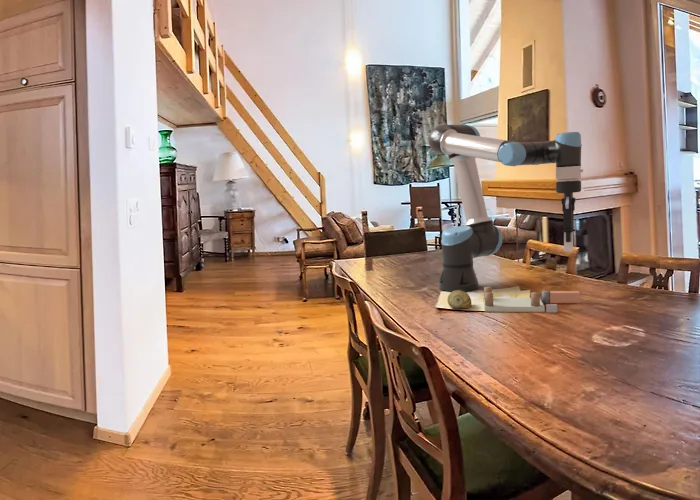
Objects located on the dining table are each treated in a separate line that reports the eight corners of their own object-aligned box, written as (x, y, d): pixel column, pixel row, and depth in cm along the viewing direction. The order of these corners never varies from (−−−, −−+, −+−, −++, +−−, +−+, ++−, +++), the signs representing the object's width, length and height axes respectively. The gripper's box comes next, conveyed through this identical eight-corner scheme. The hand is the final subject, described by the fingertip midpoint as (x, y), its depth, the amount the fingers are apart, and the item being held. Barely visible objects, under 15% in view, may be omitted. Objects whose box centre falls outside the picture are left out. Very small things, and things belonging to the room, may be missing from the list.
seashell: (458, 315, 167) (442, 298, 167) (473, 302, 166) (457, 284, 167) (461, 318, 157) (444, 299, 158) (477, 304, 156) (460, 285, 157)
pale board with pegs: (484, 312, 154) (484, 295, 153) (483, 302, 165) (483, 286, 165) (557, 312, 149) (557, 294, 148) (550, 302, 160) (550, 286, 159)
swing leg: (542, 303, 160) (542, 292, 159) (541, 301, 162) (541, 290, 162) (579, 303, 157) (579, 292, 156) (578, 301, 159) (578, 290, 159)
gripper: (579, 180, 152) (579, 254, 155) (582, 179, 163) (582, 248, 166) (554, 181, 155) (554, 254, 159) (558, 180, 166) (558, 248, 170)
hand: (568, 251), depth 162 cm, fingers closed
